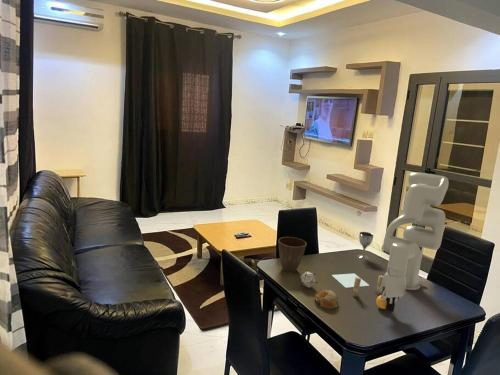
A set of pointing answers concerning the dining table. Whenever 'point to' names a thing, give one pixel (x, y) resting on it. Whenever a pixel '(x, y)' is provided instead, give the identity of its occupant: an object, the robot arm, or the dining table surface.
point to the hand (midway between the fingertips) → (389, 310)
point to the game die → (308, 279)
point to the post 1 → (356, 286)
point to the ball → (381, 302)
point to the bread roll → (326, 299)
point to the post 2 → (379, 284)
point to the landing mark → (348, 280)
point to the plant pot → (291, 252)
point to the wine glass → (365, 242)
